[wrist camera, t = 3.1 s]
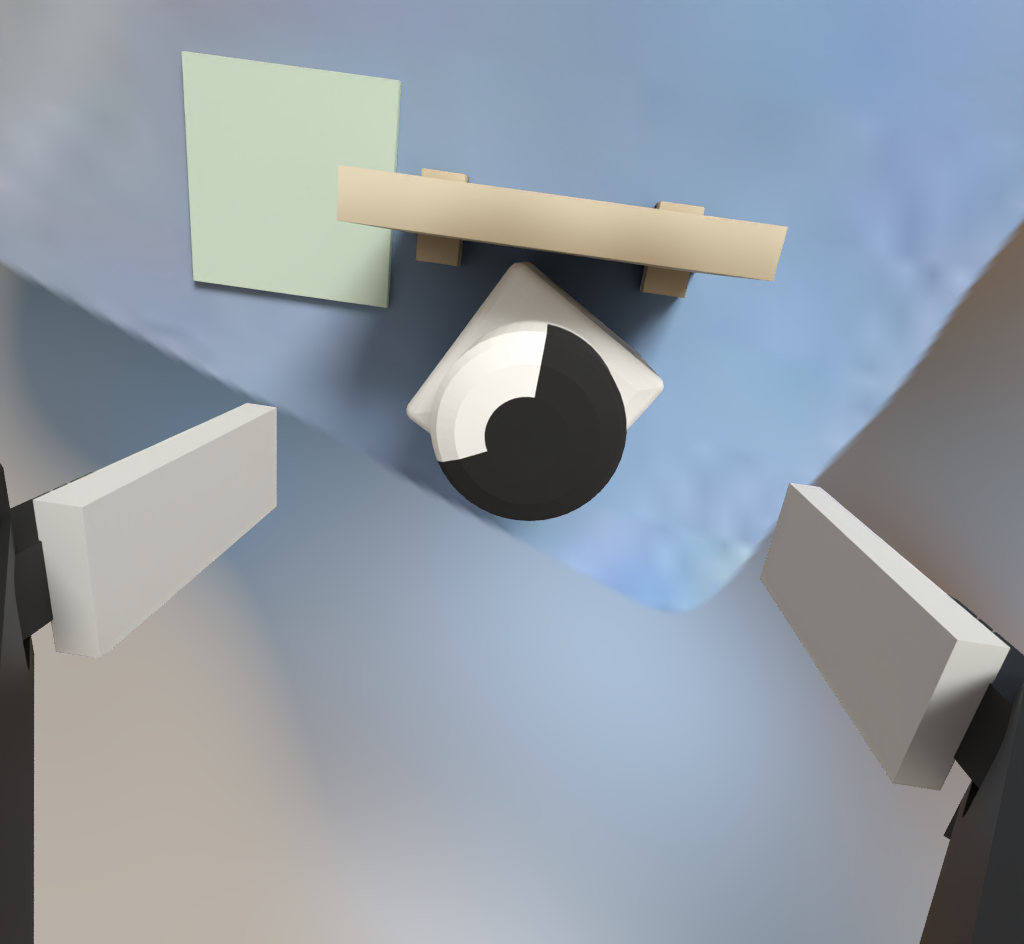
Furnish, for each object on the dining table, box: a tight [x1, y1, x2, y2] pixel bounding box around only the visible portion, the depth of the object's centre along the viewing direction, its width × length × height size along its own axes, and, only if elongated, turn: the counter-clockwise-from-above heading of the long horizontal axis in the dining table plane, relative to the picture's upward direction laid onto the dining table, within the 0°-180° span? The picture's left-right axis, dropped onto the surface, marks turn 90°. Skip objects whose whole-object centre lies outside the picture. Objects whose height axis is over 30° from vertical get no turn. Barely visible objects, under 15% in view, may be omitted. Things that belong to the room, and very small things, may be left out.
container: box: [406, 261, 664, 521], centre depth 25 cm, size 8×8×13 cm
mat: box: [182, 51, 401, 308], centre depth 29 cm, size 10×10×1 cm
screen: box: [337, 165, 788, 298], centre depth 24 cm, size 4×14×11 cm, turn 82°
